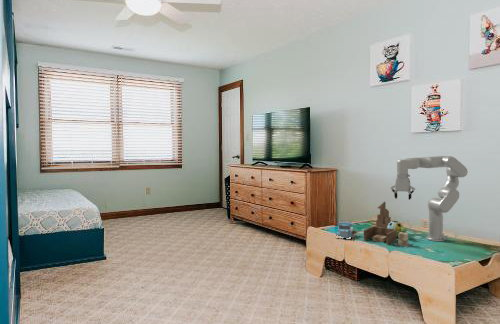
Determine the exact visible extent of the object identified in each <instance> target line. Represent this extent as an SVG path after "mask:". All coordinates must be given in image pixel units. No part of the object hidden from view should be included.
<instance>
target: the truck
mask: <svg viewBox="0 0 500 324" xmlns="http://www.w3.org/2000/svg"><path fill="white" fill-rule="evenodd" d="M353 233H354V227H352V221H351V218H348V219H347V222H346V221H343V217H339V221H338V226H337V232H336V233H335V234H336V235H335V237H336V236H337V235H338V236H341V237H344V238H349V237H352V238H353Z"/></svg>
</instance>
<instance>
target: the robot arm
mask: <svg viewBox="0 0 500 324" xmlns="http://www.w3.org/2000/svg"><path fill="white" fill-rule="evenodd" d="M418 168H421V169H422V168H423V169H436V168H446V171H445V172H446V176H447V178H446V182H444V184H443V185H442V186H441V188H440V189H439V190H438V192H437V196H438V197H439V198H438V197H432V198H430V199H429V200H428V201H427V208H428V235H427V236H426V240H428V241H432V242H444V241H445V240H449V239H450V236H448V235H445V234H444V233H443V232H444V231H443V230H444V229H443V228H444V214H446V213H448V212H449V211H451V209H452V208H453V207H454V206H455V205H456V203H457V202H458V200H459V199H460V192H459V191H458V190H457V189H458V187H459V184H460V179H459V178H464V177H466V176H467V175H468V168H467V167H466V166H465V165H464V164H463V163H462V162H461V161H459V160H458V159H457V158H455V156H451V155H437V156H424V157H423V156H422V157H411V158H410V157H409V158H405V159H398V160H397V161H396V178H395V184H394V185H392V186H391V187H390V190H391V192H393V193H394V195H393V196H394V199H396V200H397V199H398V192H407V193H408V200H409V201H410V200H411V199H412V194H413V193H414V191H415V190H416V188H415V187H414V186H412V185H411V181H410V177H411V175H410V174H409V170H410V169H411V170H417V169H418Z"/></svg>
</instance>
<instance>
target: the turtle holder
mask: <svg viewBox="0 0 500 324" xmlns="http://www.w3.org/2000/svg"><path fill="white" fill-rule="evenodd" d="M391 223H392V224H391ZM387 228H389V229H396V230H397V237H398V236H399V233H400V232H404V233H407V228H406V227H405V226H404V224H403V223H402V222H401V221H399V220H392V221H391V222H390V223H389V224H388V226H387Z"/></svg>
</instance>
